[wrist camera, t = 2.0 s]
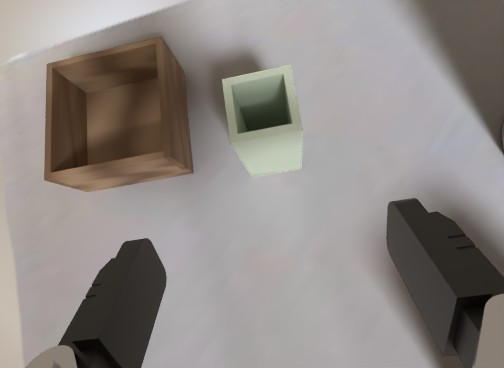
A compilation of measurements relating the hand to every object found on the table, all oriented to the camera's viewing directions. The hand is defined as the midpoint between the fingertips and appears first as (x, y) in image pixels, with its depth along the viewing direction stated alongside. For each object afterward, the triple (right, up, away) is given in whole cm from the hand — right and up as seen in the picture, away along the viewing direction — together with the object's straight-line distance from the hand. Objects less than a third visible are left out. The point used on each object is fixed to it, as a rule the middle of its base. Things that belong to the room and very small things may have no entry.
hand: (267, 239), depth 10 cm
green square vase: (+2, +5, +20) cm, 21 cm away
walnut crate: (-13, +8, +23) cm, 28 cm away
